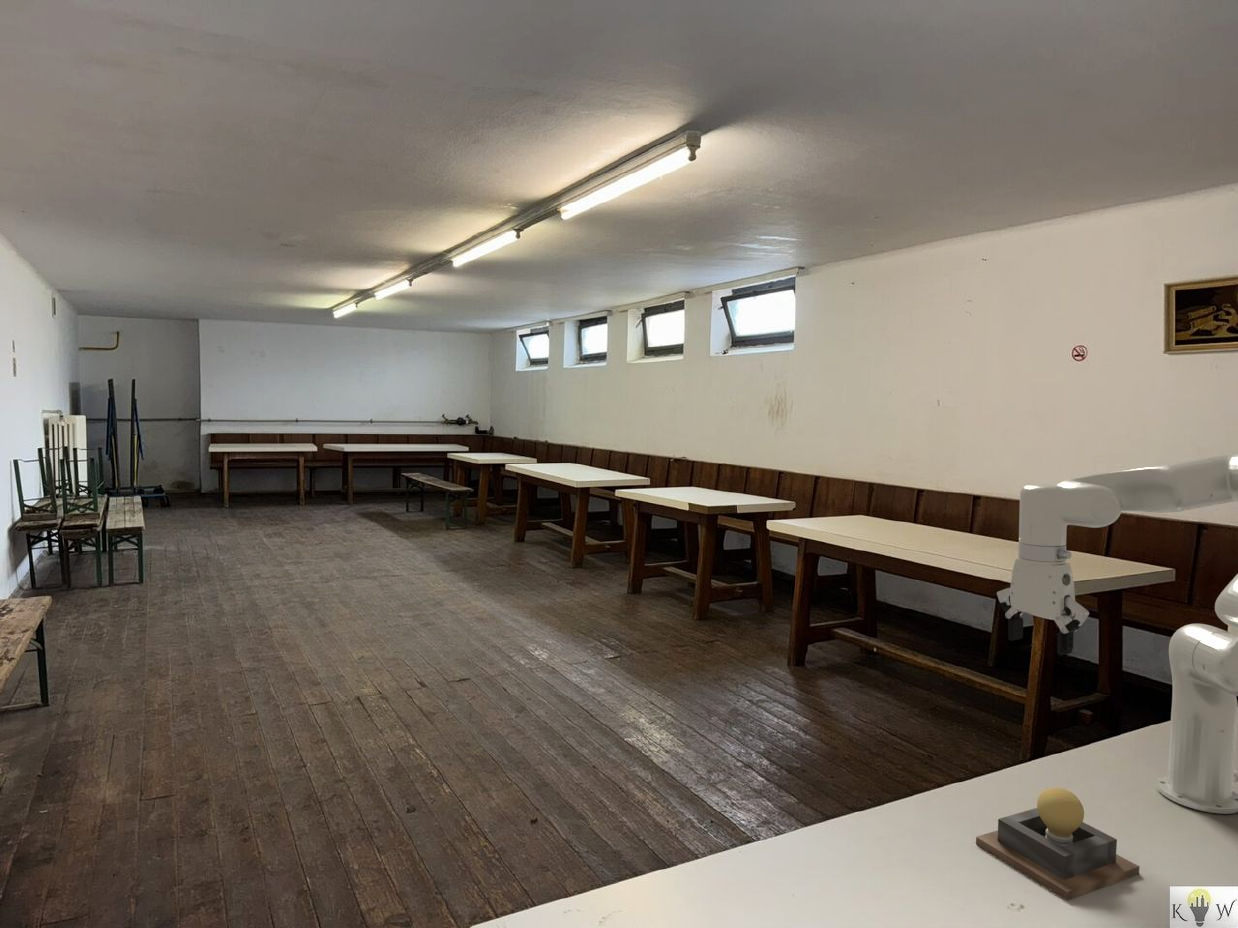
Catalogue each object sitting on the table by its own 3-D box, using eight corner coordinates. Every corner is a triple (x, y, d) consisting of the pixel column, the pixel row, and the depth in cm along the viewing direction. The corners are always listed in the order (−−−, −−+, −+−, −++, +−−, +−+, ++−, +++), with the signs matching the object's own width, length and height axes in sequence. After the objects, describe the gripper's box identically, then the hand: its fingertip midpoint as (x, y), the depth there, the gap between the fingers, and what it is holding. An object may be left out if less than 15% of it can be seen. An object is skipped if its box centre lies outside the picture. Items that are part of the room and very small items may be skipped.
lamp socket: (1044, 822, 134) (1045, 795, 134) (1139, 873, 120) (1140, 843, 119) (975, 843, 128) (977, 815, 127) (1067, 899, 113) (1068, 867, 113)
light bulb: (1088, 865, 120) (1091, 801, 119) (1043, 860, 121) (1045, 797, 120) (1073, 842, 126) (1075, 782, 125) (1029, 838, 127) (1032, 778, 126)
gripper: (1102, 559, 136) (1099, 656, 137) (1013, 544, 151) (1011, 631, 152) (1074, 563, 132) (1071, 663, 134) (986, 547, 148) (984, 637, 149)
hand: (1039, 646), depth 143 cm, fingers open, 9 cm apart
